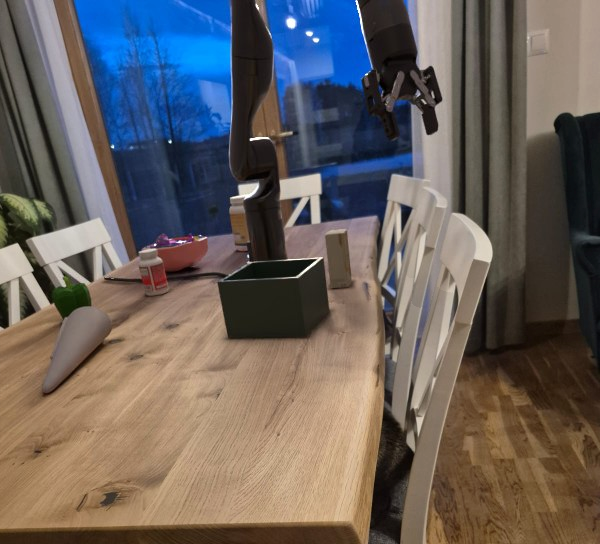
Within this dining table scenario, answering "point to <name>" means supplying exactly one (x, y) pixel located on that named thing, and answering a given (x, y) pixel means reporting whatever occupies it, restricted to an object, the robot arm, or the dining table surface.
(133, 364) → the dining table surface
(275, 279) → the trash bin
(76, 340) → the grey cone
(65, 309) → the bell pepper
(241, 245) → the supplement tub
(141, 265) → the pill bottle
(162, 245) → the cell model
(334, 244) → the cosmetic box
